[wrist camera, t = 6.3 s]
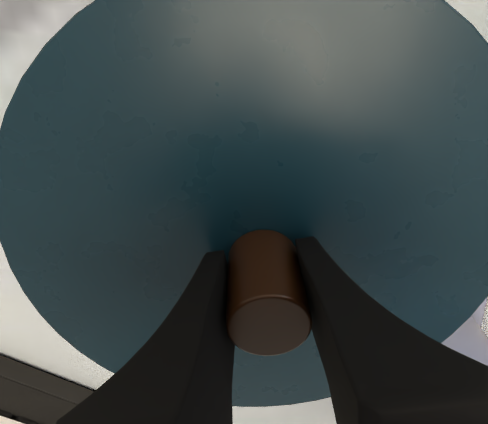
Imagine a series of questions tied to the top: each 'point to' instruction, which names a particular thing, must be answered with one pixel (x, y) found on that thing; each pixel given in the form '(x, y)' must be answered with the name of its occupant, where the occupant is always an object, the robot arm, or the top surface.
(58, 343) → the top surface
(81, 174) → the lid
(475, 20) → the top surface
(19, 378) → the laptop
